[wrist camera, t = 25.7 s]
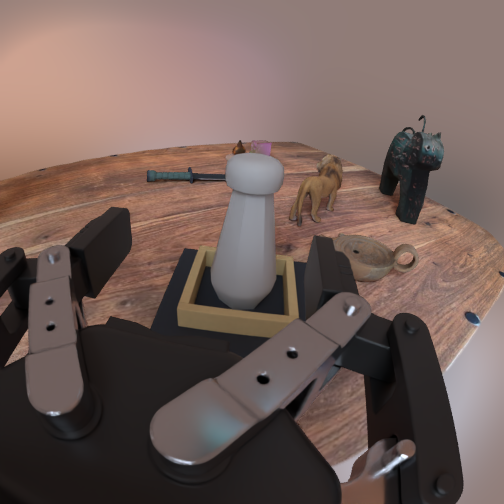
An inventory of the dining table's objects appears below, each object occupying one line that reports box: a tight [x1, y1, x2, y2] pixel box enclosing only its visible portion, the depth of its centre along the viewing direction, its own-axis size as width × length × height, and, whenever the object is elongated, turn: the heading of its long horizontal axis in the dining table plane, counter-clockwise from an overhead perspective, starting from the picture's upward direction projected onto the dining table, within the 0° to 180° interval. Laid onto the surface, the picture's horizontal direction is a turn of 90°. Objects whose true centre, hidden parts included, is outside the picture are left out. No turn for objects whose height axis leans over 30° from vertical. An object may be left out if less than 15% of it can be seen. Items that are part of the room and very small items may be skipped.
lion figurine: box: [289, 154, 343, 226], centre depth 46 cm, size 15×5×9 cm, turn 153°
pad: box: [151, 246, 307, 358], centre depth 28 cm, size 14×14×3 cm
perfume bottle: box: [226, 140, 271, 161], centre depth 71 cm, size 12×12×4 cm
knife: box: [147, 167, 226, 183], centre depth 57 cm, size 23×2×5 cm
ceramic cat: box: [379, 115, 444, 224], centre depth 52 cm, size 20×6×20 cm, turn 172°
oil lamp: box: [319, 233, 419, 282], centre depth 34 cm, size 13×8×5 cm, turn 71°
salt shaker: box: [211, 153, 284, 310], centre depth 25 cm, size 6×6×13 cm
